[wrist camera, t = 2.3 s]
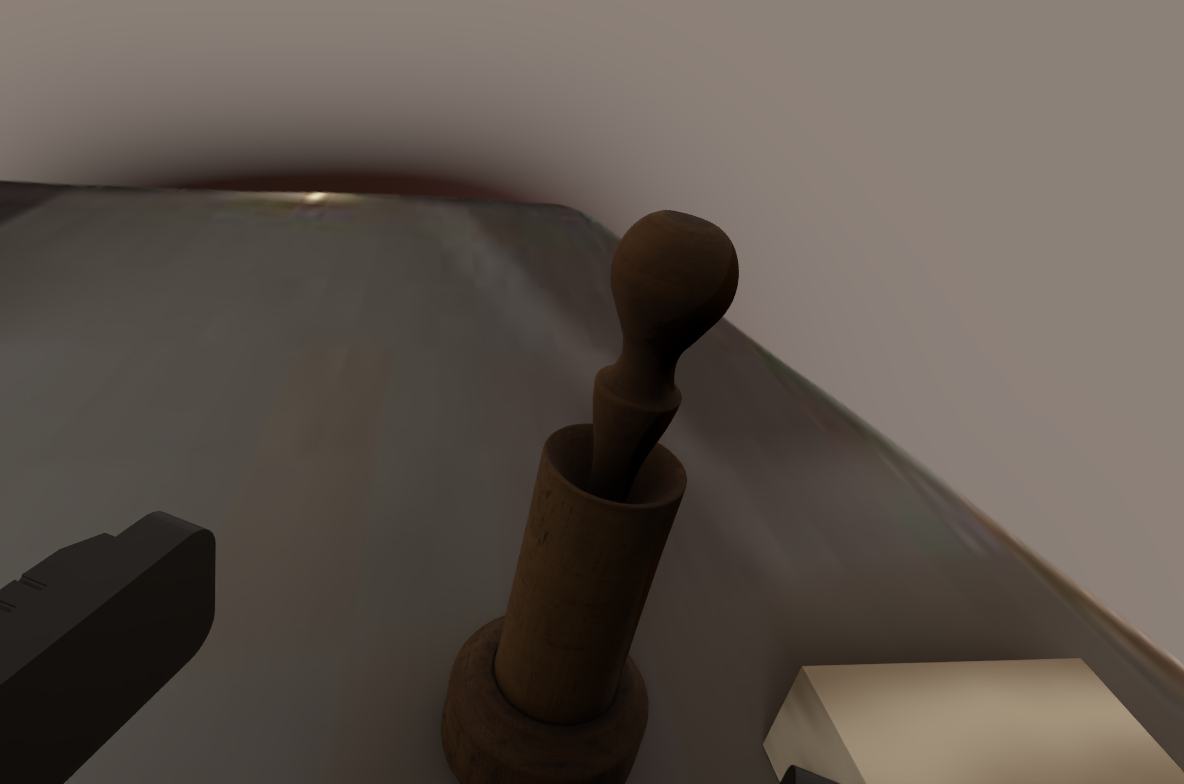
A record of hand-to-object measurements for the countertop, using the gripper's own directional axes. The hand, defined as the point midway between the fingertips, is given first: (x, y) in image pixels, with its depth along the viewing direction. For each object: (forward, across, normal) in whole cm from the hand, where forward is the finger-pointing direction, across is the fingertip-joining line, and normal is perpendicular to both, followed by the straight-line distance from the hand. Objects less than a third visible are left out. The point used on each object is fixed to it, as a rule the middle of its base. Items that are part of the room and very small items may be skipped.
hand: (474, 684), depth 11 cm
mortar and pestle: (+12, 0, +14) cm, 19 cm away
